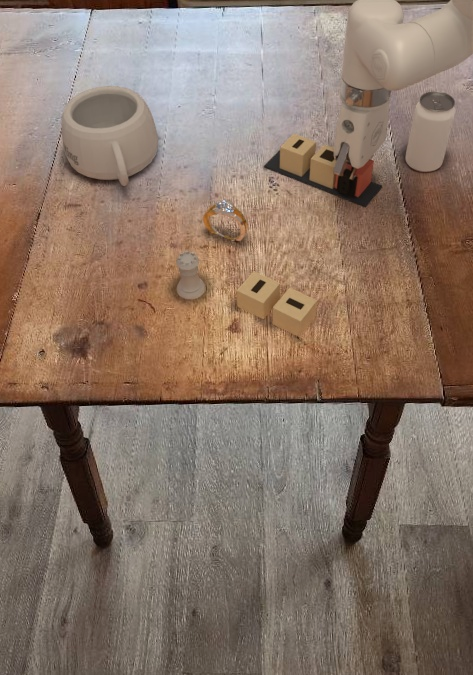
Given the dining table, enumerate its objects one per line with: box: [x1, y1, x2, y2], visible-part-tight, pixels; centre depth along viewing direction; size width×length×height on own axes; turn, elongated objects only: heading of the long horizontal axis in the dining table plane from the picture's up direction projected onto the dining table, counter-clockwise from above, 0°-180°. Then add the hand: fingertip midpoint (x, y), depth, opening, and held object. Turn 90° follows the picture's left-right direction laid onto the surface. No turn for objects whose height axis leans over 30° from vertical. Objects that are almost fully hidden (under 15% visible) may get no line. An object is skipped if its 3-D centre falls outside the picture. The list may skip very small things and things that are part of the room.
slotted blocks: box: [236, 270, 318, 338], centre depth 96 cm, size 20×6×5 cm, turn 56°
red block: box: [335, 159, 375, 197], centre depth 113 cm, size 4×4×5 cm
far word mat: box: [263, 133, 383, 208], centre depth 115 cm, size 20×6×5 cm, turn 56°
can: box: [404, 90, 456, 173], centre depth 114 cm, size 6×6×12 cm
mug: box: [61, 85, 159, 187], centre depth 118 cm, size 21×17×10 cm
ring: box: [202, 198, 248, 244], centre depth 105 cm, size 7×3×8 cm, turn 61°
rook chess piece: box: [175, 249, 206, 300], centre depth 98 cm, size 4×4×8 cm
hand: (353, 184), depth 114 cm, fingers closed on red block, 4 cm apart
